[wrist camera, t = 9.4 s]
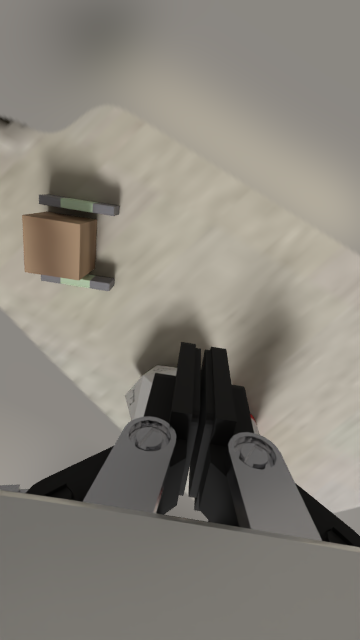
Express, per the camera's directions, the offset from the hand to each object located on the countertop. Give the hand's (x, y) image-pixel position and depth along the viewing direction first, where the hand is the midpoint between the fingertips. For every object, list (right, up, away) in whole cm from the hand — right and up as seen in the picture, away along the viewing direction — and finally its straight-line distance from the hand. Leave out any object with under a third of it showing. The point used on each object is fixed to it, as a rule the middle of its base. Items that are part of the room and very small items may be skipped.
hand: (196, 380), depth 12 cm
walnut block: (-12, +10, +21) cm, 26 cm away
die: (-2, -5, +27) cm, 28 cm away
